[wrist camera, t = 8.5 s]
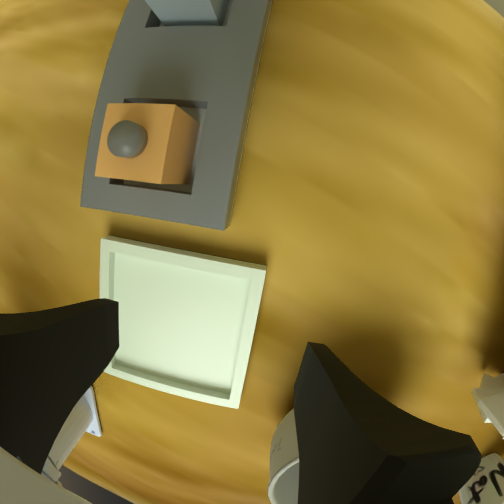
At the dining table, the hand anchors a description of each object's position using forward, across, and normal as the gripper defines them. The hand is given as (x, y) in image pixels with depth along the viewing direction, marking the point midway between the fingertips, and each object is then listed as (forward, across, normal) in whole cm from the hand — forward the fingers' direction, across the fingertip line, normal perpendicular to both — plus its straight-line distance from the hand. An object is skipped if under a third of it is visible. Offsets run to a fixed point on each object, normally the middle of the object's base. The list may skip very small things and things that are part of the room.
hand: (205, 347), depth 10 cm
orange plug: (+10, +6, -7) cm, 13 cm away
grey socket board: (+10, +6, -13) cm, 17 cm away
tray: (+10, +4, +5) cm, 12 cm away
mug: (+10, -41, +26) cm, 50 cm away
